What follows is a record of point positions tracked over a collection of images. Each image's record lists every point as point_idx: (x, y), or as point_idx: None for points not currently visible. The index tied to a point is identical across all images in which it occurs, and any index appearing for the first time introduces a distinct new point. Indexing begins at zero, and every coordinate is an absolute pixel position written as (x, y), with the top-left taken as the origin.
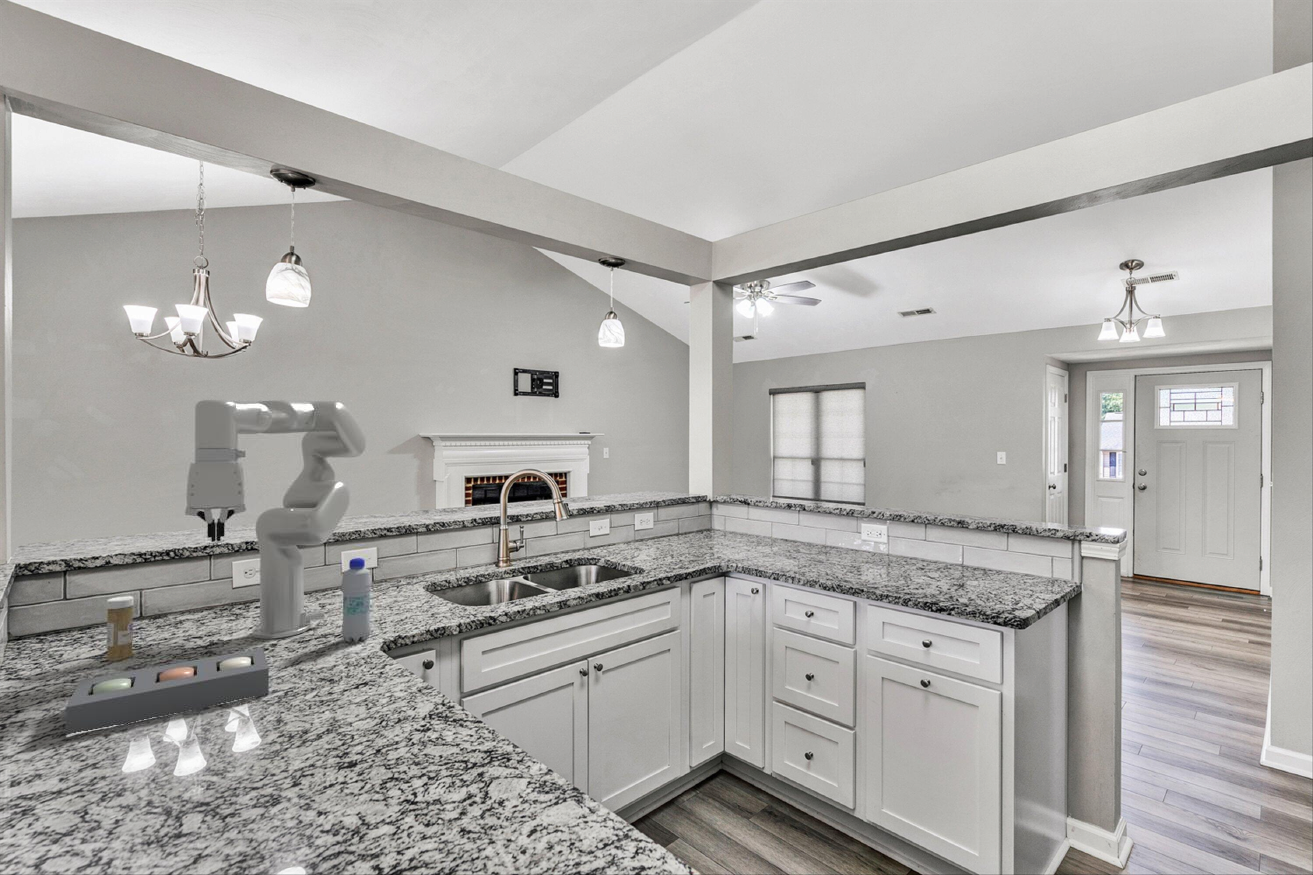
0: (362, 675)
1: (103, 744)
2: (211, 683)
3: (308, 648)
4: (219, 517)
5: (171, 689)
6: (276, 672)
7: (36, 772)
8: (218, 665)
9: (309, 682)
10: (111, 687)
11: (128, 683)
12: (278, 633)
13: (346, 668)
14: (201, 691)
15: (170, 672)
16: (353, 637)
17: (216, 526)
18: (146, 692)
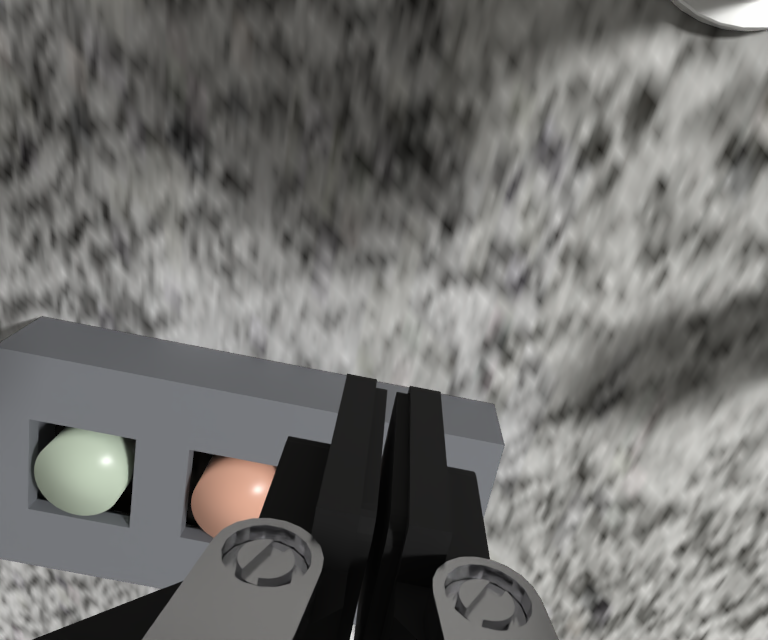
0: (673, 635)
1: (109, 599)
2: None
3: (707, 270)
4: (435, 609)
5: None
6: (521, 439)
7: (14, 636)
8: None
9: (552, 582)
10: (78, 508)
11: (117, 499)
12: (710, 8)
13: (676, 557)
14: None
15: (219, 496)
16: None
17: (372, 572)
18: (159, 585)
